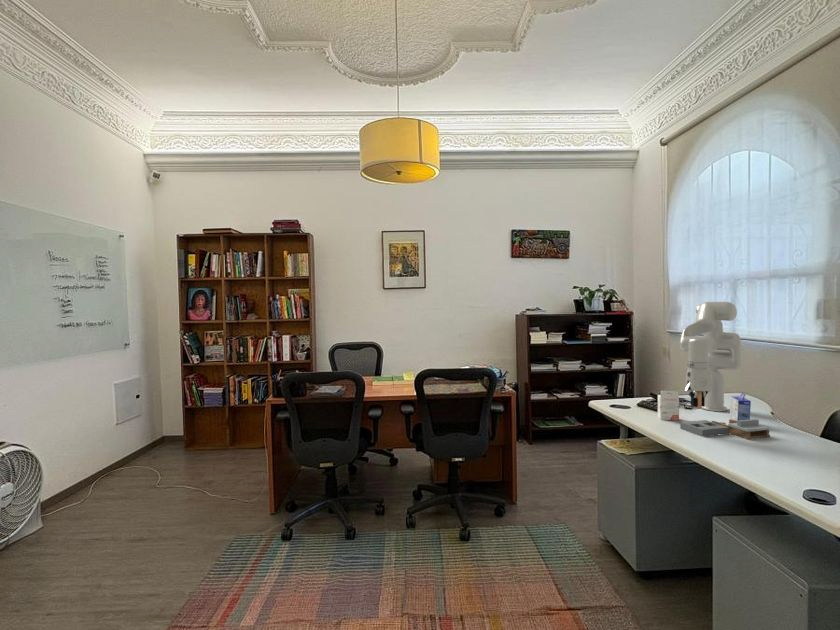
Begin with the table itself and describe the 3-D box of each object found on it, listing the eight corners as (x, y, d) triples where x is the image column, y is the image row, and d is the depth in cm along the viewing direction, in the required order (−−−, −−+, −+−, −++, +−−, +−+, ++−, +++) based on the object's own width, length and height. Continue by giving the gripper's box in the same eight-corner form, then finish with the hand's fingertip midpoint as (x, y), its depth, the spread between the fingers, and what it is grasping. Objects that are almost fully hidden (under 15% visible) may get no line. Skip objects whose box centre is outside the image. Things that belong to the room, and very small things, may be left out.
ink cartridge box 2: (751, 426, 202) (751, 396, 201) (737, 425, 204) (737, 395, 203) (742, 420, 211) (742, 391, 211) (729, 420, 213) (729, 391, 213)
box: (710, 427, 202) (710, 421, 201) (731, 425, 204) (731, 419, 204) (747, 439, 184) (747, 432, 184) (769, 437, 187) (770, 430, 186)
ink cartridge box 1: (675, 418, 218) (676, 389, 217) (679, 420, 213) (679, 391, 212) (657, 417, 220) (657, 388, 219) (660, 419, 215) (660, 390, 214)
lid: (728, 425, 193) (728, 418, 193) (748, 423, 196) (748, 416, 195) (747, 431, 184) (747, 424, 184) (768, 429, 187) (768, 422, 187)
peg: (692, 407, 196) (692, 390, 195) (697, 407, 196) (697, 389, 196) (697, 409, 193) (697, 391, 192) (703, 408, 193) (703, 391, 193)
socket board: (680, 428, 200) (680, 422, 200) (705, 426, 203) (705, 420, 203) (702, 436, 189) (702, 429, 188) (728, 434, 192) (728, 427, 191)
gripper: (689, 367, 189) (689, 409, 189) (720, 366, 192) (719, 406, 193) (676, 365, 196) (675, 405, 196) (706, 363, 199) (705, 403, 200)
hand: (697, 405), depth 194 cm, fingers closed on peg, 3 cm apart
